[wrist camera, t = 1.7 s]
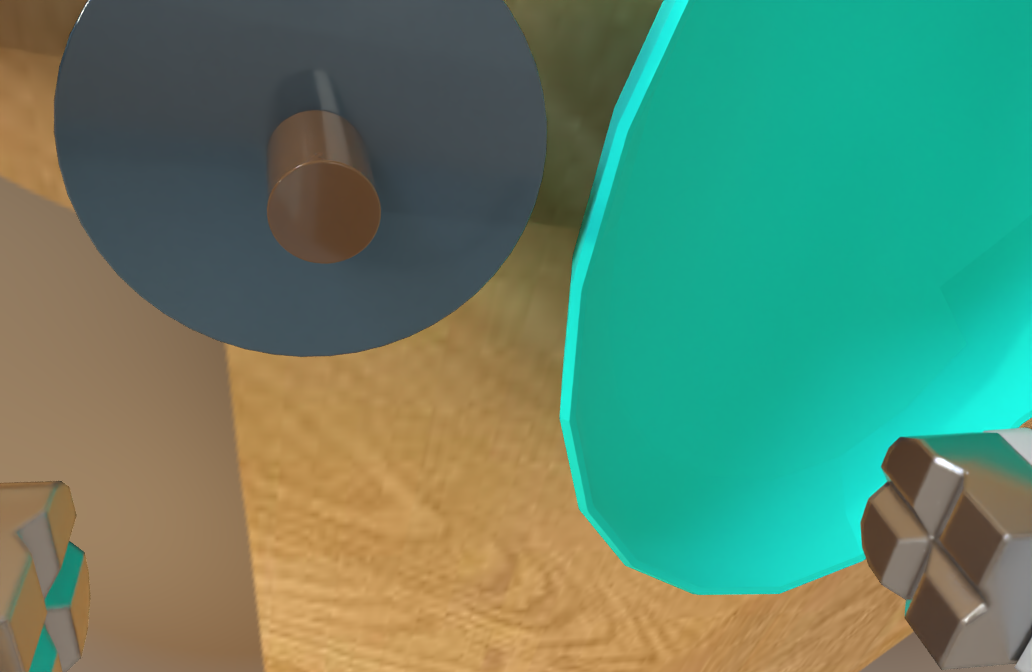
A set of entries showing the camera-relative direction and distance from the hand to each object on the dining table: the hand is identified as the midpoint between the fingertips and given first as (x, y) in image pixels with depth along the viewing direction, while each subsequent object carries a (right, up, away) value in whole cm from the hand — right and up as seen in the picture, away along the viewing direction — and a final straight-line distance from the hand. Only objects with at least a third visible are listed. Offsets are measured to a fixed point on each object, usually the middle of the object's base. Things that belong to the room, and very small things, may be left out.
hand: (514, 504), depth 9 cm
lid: (-5, +7, +15) cm, 18 cm away
